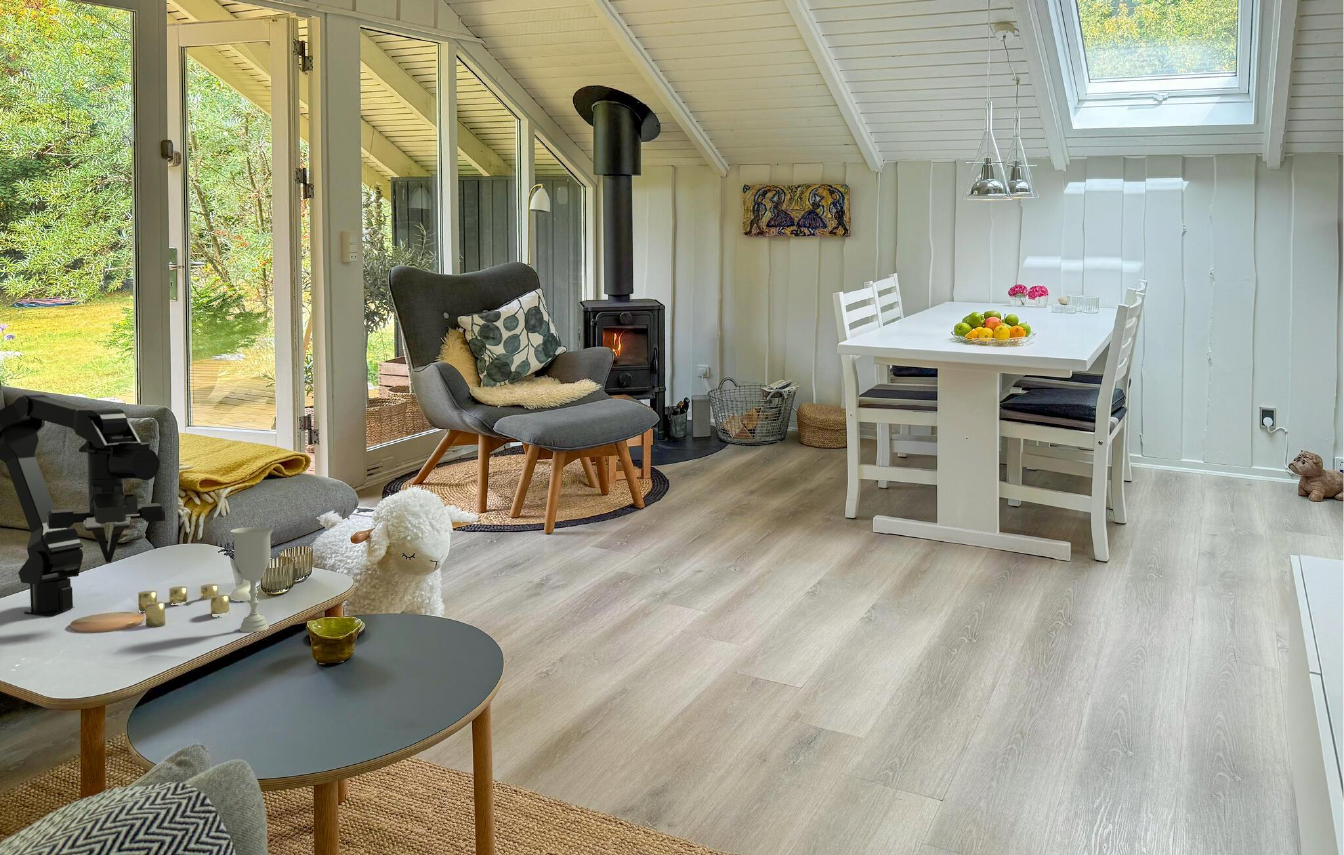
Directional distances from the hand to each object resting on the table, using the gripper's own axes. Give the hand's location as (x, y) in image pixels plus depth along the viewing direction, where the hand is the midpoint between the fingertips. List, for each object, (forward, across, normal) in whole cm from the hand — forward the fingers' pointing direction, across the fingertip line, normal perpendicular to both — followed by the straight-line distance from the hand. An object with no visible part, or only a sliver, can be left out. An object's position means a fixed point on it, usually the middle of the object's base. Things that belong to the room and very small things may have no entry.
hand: (108, 562), depth 193 cm
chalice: (+12, +21, -18) cm, 30 cm away
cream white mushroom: (+12, +24, +2) cm, 27 cm away
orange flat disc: (+11, 0, 0) cm, 11 cm away
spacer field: (+11, +12, 0) cm, 17 cm away
